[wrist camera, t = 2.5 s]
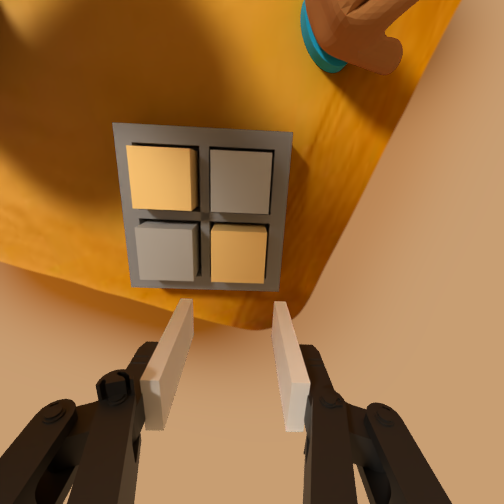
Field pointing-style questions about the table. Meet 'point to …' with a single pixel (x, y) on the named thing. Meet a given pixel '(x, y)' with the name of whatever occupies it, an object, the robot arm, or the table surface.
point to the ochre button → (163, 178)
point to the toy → (352, 33)
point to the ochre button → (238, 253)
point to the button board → (207, 196)
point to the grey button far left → (168, 250)
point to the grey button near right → (240, 181)
